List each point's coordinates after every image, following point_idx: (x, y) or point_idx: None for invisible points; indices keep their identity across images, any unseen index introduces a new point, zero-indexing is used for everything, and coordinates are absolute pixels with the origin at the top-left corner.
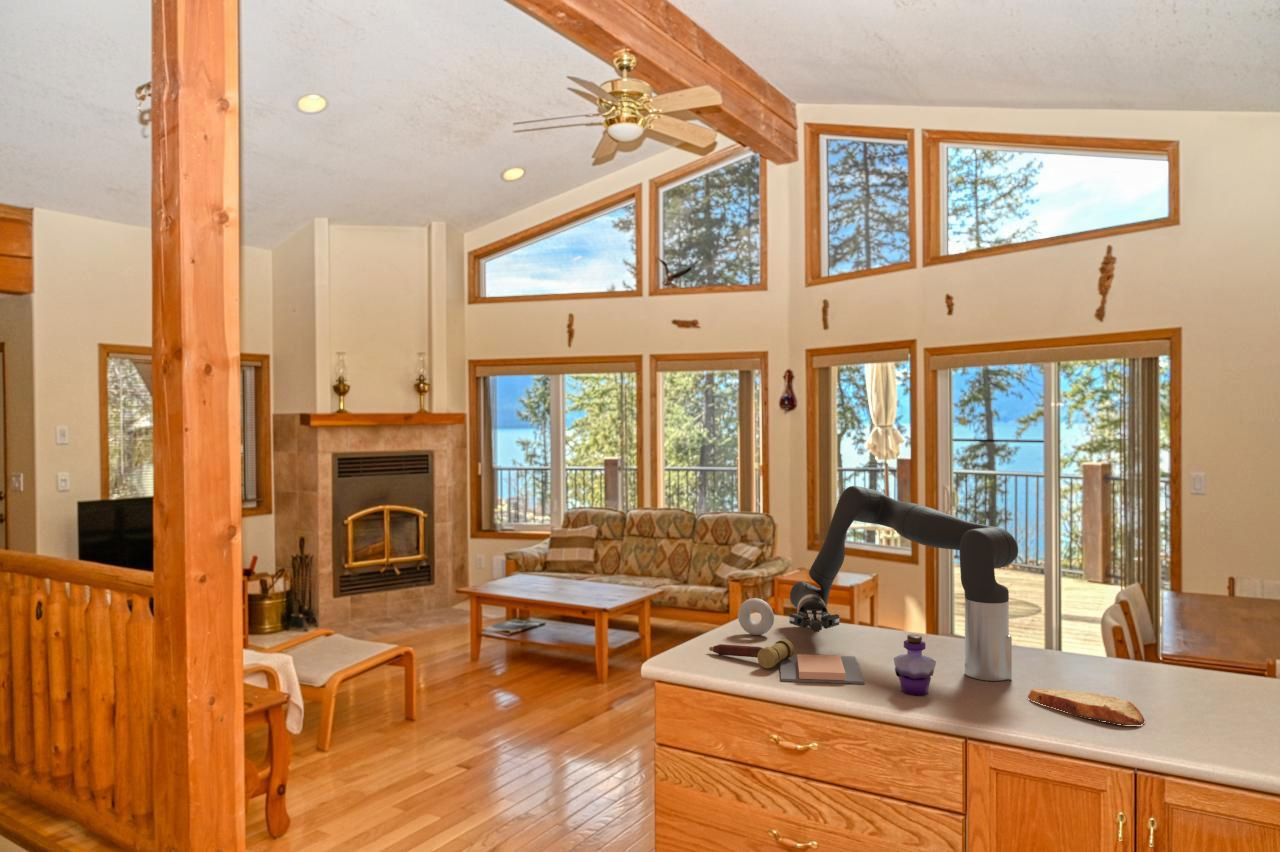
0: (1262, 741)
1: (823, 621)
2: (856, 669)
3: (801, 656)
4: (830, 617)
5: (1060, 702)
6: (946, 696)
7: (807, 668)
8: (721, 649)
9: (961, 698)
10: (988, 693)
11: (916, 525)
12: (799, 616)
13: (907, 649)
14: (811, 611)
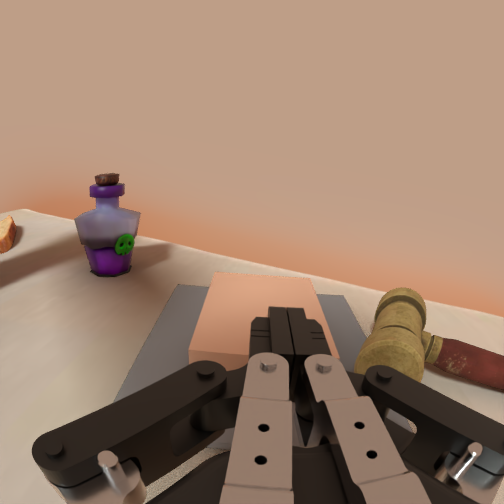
0: None
1: (230, 373)
2: (162, 328)
3: None
4: (157, 387)
5: (12, 230)
6: (80, 259)
7: (294, 286)
8: None
9: (68, 256)
10: (22, 261)
11: None
12: (426, 392)
13: (116, 199)
14: (360, 484)
